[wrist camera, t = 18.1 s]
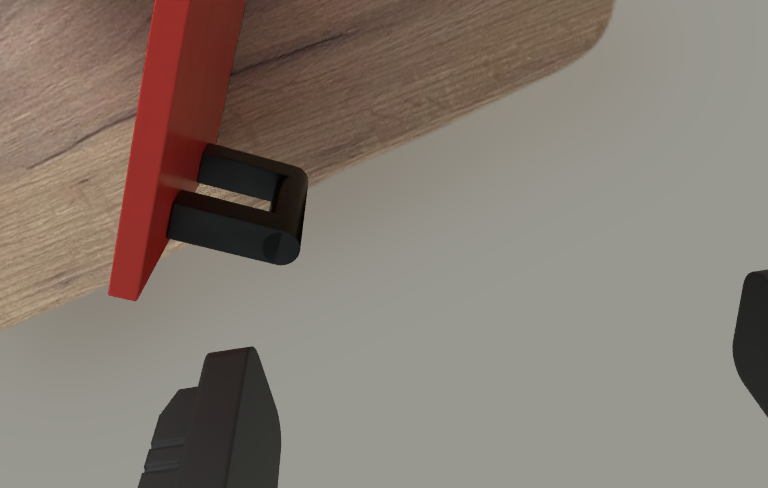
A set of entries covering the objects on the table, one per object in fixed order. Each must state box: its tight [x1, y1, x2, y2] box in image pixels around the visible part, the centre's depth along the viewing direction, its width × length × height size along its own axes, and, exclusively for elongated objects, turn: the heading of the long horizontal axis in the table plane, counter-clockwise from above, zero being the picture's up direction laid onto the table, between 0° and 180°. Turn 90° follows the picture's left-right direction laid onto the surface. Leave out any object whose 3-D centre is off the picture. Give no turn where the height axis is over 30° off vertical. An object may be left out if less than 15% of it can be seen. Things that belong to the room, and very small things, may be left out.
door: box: [108, 0, 308, 301], centre depth 28 cm, size 6×15×16 cm, turn 163°
